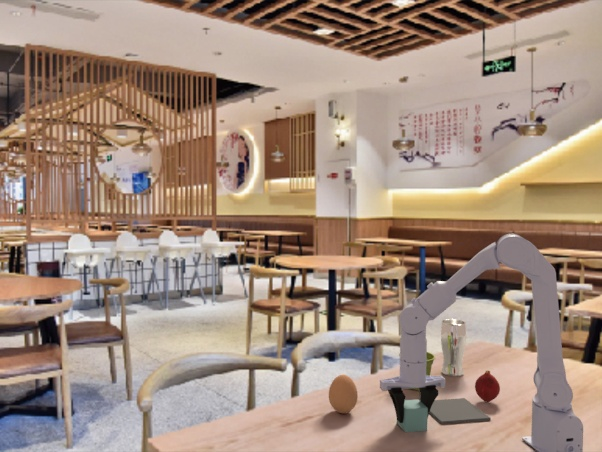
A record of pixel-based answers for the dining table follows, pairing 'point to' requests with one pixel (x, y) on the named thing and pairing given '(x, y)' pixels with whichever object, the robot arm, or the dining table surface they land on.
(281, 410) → the dining table surface
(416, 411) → the cube
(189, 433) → the dining table surface
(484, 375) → the onion
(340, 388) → the egg
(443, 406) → the mat
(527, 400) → the dining table surface
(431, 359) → the plant pot
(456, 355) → the beer glass
